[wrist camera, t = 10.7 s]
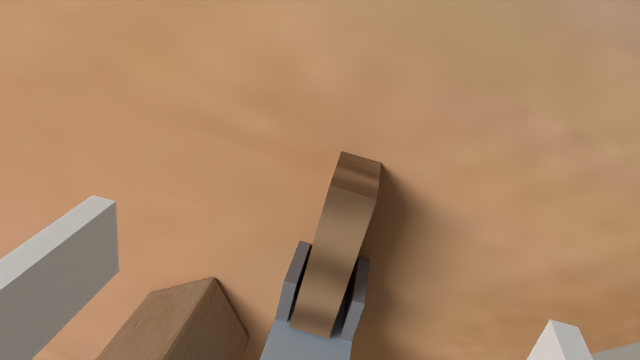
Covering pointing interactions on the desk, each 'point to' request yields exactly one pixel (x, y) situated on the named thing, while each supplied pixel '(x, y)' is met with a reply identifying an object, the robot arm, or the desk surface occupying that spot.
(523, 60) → the desk surface
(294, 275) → the gray block with ears
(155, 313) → the wooden block
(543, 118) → the desk surface
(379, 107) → the desk surface
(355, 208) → the rail
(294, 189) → the desk surface
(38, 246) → the robot arm
